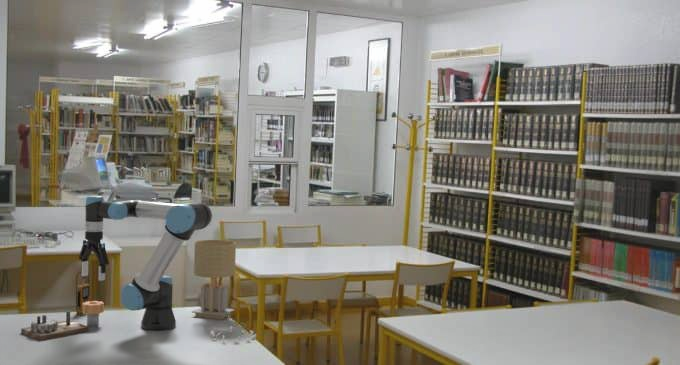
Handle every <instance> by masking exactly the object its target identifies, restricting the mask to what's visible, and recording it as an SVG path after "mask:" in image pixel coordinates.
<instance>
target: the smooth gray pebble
mask: <svg viewBox="0 0 680 365" xmlns="http://www.w3.org/2000/svg"><path fill="white" fill-rule="evenodd" d="M86 316H87V317H86V326H88V327H98V326H99V325H100V324H99V322H100V319H99V318H100V314H87V315H86Z"/></svg>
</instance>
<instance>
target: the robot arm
mask: <svg viewBox="0 0 680 365" xmlns="http://www.w3.org/2000/svg"><path fill="white" fill-rule="evenodd" d="M84 207H85V224H84V225H85V226H84V227H85V228H84V229H85V232H84V235H85V236H84V239H83V240H82V246H81V249H80V252H79V256H78V259H79V260H80V261H81V272H82V273H81V277H88V273H89V258H90V255H91V253H94V254H95V256H96V258H97V260H98V263H99V264H98V281H99V282H100V281H106V267H107V266H108V265H109V264H110V263H109V259H108V255H107V249H106V243H105V242H101V240H103V238H104V232H103V230H104V219H107V220H115V221H117V220H124V219H125V218H136V219H137V218H141V219H142V218H143V219H149V220H158V221H159V220H161V221H165V225H164V230H165V232H164V234H163V235H162V237H161V239H160V240H159V242H158V243H157V246H156V247H155V249H154V251H153V252H152V253H151V255H150V257H149V259H148V260H147V262H146V264H145V266H143V268H142V270H141V272H138V273H136V274H135V275H134V277H133V279H132V280H131V282H130V283H127V284H125V285H124V286H123V287H122V288H121V290H120V299H121V303H122V305H123V306H124V307H125V308H126V309H127V310H129V311H133V312H134V311H140V310H144V309H145V310H144V313H143V315H142V320H141V321H140V323H141V324H140V328H142V329H144V330H150V331H164V330H170V329H174V328H175V327H176V325H177V322H176V319H175V318H176V317H175V314H174V311H173V289H174V288H173V286H174V283H173V281H174V280H173V278H172V277H171V276H168V275H164V274H165V273H166V271H167V270H168V268H169V266H170V265H171V263H172V262H173V260H174V258H175V257H176V255H177V253H178V252H179V250H180V248H181V247H182V245H183V243H184V242H186V241H189V240H190V239H191V237H192V235H193V234H194V233H195V231H198V230H203V229H205V228H207V227H208V226H209V225H210V224H211V222H212V219H213V213H212V210H211V208H210V207H209V205H207V204H206V203H203V202H188V203H167V202H166V203H165V202H157V201H156V202H155V201H145V200H144V201H143V200H140V199H132V200H122V201H105V200H104V196H102V195H88V196H87V197H86V199H85V206H84Z"/></svg>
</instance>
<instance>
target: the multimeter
mask: <svg viewBox="0 0 680 365" xmlns="http://www.w3.org/2000/svg"><path fill="white" fill-rule="evenodd" d="M80 273H81V274H82V271H79V272H78V273H77V275H76V279H75V300H76V301H75V305H76V306H75V308H76V315H77V316H80V317H81V316H87V314H84V313H83V312H82V303H85V302H88V301H90V296H91V284H90V283H89V282H90V281H89V279H90V274H89V272H88V276H87V277H88V279H87V283H85V278H83V281H81V282H82V283H81V285H77V284H78V275H79V274H80Z"/></svg>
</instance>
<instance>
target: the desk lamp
mask: <svg viewBox="0 0 680 365" xmlns="http://www.w3.org/2000/svg"><path fill="white" fill-rule="evenodd" d="M236 248H237V243H236V242H235V241H232V240H223V239H204V240H197V241H195V242H194V250H193V251H194V257H193V260H194V261H193V263H194V264H193V274H194V276H197V277H202V278H211V279H212V284H211V282H206V283H204V284H202V286H200V308H197V309H195V310H193V311H192V312H191V313H194V314H195V315H194V316H195V317H197V318H199V317H200V318H206V319H214V320H215V319H216V320H222V319H225V318H226V317H229V316H231V315H232V312H234V311H235V310H236V309H234V308H228V289H229V288H228V287H227V284H226V283H225V284H220V283H217V282H216V280H217V279H216V278H228V277H232V276H234V275H236V256H237V255H236V254H237V253H236Z"/></svg>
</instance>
